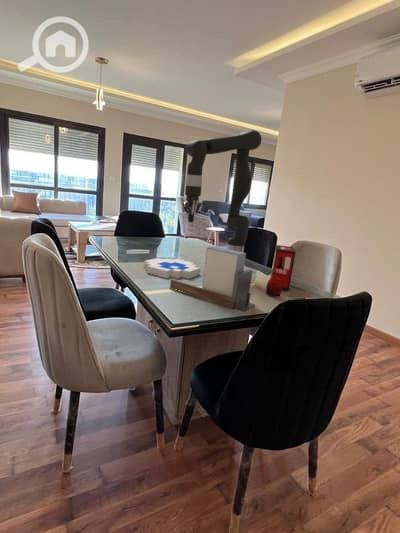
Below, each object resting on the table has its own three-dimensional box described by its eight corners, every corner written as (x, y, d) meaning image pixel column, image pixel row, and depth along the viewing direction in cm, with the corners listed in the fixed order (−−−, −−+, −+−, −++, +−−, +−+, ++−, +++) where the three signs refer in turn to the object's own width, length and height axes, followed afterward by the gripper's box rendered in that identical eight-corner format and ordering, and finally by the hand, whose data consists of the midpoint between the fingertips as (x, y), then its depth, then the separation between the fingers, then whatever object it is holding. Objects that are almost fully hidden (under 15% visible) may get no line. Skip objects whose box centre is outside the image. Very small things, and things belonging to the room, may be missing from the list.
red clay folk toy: (283, 297, 146) (289, 265, 143) (272, 298, 143) (277, 266, 139) (272, 292, 153) (277, 261, 149) (261, 293, 149) (266, 262, 146)
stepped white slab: (206, 265, 176) (180, 274, 152) (206, 272, 177) (180, 282, 153) (165, 256, 188) (134, 263, 164) (164, 262, 189) (134, 270, 165)
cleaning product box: (269, 280, 174) (275, 244, 170) (286, 283, 172) (292, 247, 168) (270, 288, 158) (276, 249, 154) (288, 291, 157) (295, 252, 152)
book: (209, 292, 140) (214, 246, 136) (238, 302, 132) (246, 253, 128) (200, 295, 135) (206, 247, 130) (231, 305, 127) (238, 254, 122)
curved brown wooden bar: (186, 283, 151) (187, 275, 150) (249, 302, 134) (250, 293, 133) (170, 288, 141) (170, 279, 140) (235, 309, 123) (237, 299, 122)
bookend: (244, 301, 134) (249, 269, 131) (256, 304, 131) (261, 272, 128) (229, 308, 124) (234, 274, 120) (242, 312, 121) (247, 277, 118)
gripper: (191, 185, 142) (188, 223, 146) (207, 186, 153) (204, 222, 157) (178, 184, 146) (176, 221, 150) (195, 185, 157) (192, 220, 161)
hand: (190, 222), depth 154 cm, fingers closed
